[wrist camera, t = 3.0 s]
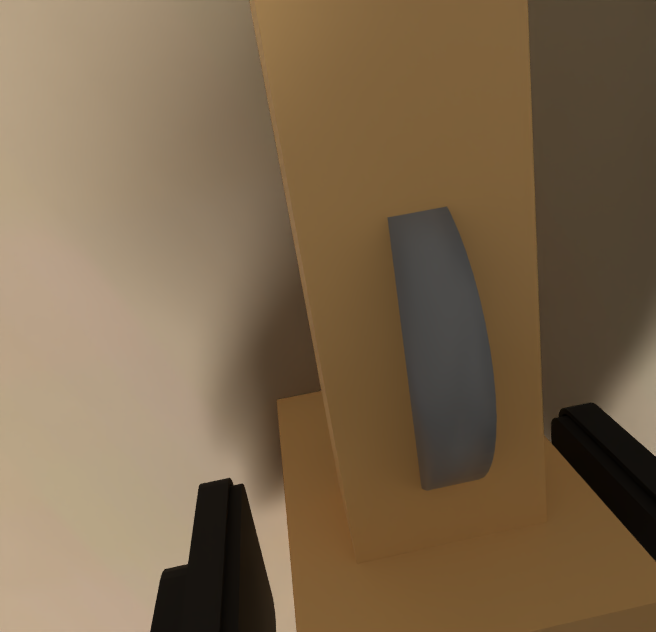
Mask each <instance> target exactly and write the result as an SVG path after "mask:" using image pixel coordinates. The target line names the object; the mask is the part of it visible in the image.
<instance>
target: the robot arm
mask: <svg viewBox="0 0 656 632" xmlns="http://www.w3.org/2000/svg"><path fill="white" fill-rule="evenodd" d="M551 437H552V445H553V446H554V447H555V448H556V449H557V450H558V451H559V453H560V454H561V455H562V456H563V457H564V458H565V459H566V460H567V462H568V463H569V464H570V465H571V466H572V467H573V468H574V470H575V471H576V472H577V473H578V474H579V475H580V476H581V477H582V479H583V480H584V481H585V482H586V483H587V484H588V485H589V487H590V488H591V489H592V490H593V491H594V492H595V493H596V494H597V496H598V497H599V498H600V499H601V500H602V501H603V502H604V504H605V505H606V506H607V507H608V508H609V509H610V510H611V511H612V513H613V514H614V515H615V516H616V517H617V518H618V519H619V521H620V522H621V523H622V524H623V525H624V526H625V527H626V528H627V530H628V531H629V532H630V533H631V534H632V535H633V536H634V538H635V539H636V540H637V541H638V542H639V543H640V544H641V545H642V547H643V548H644V549H645V550H646V551H647V552H648V553H649V555H650V556H651V557H652V558H653V559H654V560H655V561H656V457H655V456H654V455H653V454H652V453H651V452H650V451H649V450H647V449H646V448H645V447H644V446H643V445H642V444H641V443H639V442H638V441H637V440H636V439H635V438H634V437H633V436H631V435H630V434H629V433H628V432H627V431H626V430H625V429H623V428H622V427H621V426H620V425H619V424H618V423H617V422H615V421H614V420H613V419H612V418H611V417H610V416H609V415H607V414H606V413H605V412H604V411H603V410H602V409H601V408H599V407H598V406H597V405H596V404H594V403H586V404H582V405H577V406H572V407H567V408H563V409H561V410H560V412H559V417H558V418H554V419H553V420H552V422H551ZM150 632H276V619H275V609H274V602H273V597H272V593H271V589H270V585H269V581H268V577H267V573H266V569H265V565H264V561H263V557H262V553H261V549H260V545H259V541H258V537H257V533H256V529H255V525H254V521H253V518H252V514H251V510H250V506H249V502H248V498H247V494H246V490H245V487H244V484H238V485H233V482H232V480H231V478H227V479H222V480H217V481H212V482H208V483H203V484H200V485H199V489H198V496H197V503H196V510H195V518H194V525H193V532H192V539H191V547H190V554H189V561H188V564H187V565H182V566H177V567H173V568H168V569H165V570H164V571H163V572H162V575H161V579H160V583H159V589H158V594H157V599H156V604H155V610H154V615H153V620H152V625H151V630H150Z"/></svg>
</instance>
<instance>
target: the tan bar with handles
mask: <svg viewBox="0 0 656 632" xmlns="http://www.w3.org/2000/svg"><path fill="white" fill-rule="evenodd" d="M249 2H250V8H251V13H252V19H253V24H254V29H255V35H256V40H257V45H258V51H259V56H260V62H261V67H262V72H263V78H264V83H265V89H266V94H267V99H268V105H269V110H270V116H271V121H272V126H273V132H274V137H275V143H276V148H277V153H278V159H279V164H280V170H281V175H282V180H283V186H284V191H285V197H286V202H287V207H288V213H289V218H290V224H291V229H292V234H293V240H294V245H295V251H296V256H297V261H298V267H299V272H300V278H301V283H302V288H303V294H304V299H305V305H306V310H307V315H308V321H309V326H310V332H311V337H312V342H313V348H314V353H315V359H316V364H317V369H318V375H319V380H320V386H321V391H318V392H313V393H308V394H303V395H298V396H293V397H288V398H283V399H278V400H277V409H278V421H279V433H280V444H281V456H282V467H283V479H284V490H285V502H286V514H287V525H288V537H289V548H290V560H291V572H292V583H293V595H294V606H295V618H296V630H297V632H656V561H655V560H654V559H653V558H652V557H651V556H650V555H649V553H648V552H647V551H646V550H645V549H644V548H643V547H642V545H641V544H640V543H639V542H638V541H637V540H636V539H635V538H634V536H633V535H632V534H631V533H630V532H629V531H628V530H627V528H626V527H625V526H624V525H623V524H622V523H621V522H620V521H619V519H618V518H617V517H616V516H615V515H614V514H613V513H612V511H611V510H610V509H609V508H608V507H607V506H606V505H605V504H604V502H603V501H602V500H601V499H600V498H599V497H598V496H597V494H596V493H595V492H594V491H593V490H592V489H591V488H590V487H589V485H588V484H587V483H586V482H585V481H584V480H583V479H582V477H581V476H580V475H579V474H578V473H577V472H576V471H575V470H574V468H573V467H572V466H571V465H570V464H569V463H568V462H567V460H566V459H565V458H564V457H563V456H562V455H561V454H560V453H559V451H558V450H557V449H556V448H555V447H554V446H553V445H552V443H551V442H550V441H549V440H548V439H547V438H546V437H545V436H544V426H543V399H542V372H541V345H540V318H539V291H538V264H537V237H536V211H535V184H534V157H533V130H532V103H531V76H530V49H529V22H528V0H249Z"/></svg>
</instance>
